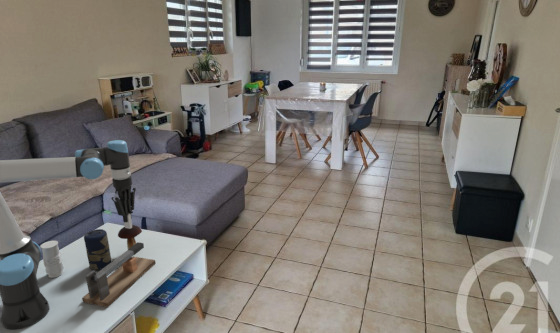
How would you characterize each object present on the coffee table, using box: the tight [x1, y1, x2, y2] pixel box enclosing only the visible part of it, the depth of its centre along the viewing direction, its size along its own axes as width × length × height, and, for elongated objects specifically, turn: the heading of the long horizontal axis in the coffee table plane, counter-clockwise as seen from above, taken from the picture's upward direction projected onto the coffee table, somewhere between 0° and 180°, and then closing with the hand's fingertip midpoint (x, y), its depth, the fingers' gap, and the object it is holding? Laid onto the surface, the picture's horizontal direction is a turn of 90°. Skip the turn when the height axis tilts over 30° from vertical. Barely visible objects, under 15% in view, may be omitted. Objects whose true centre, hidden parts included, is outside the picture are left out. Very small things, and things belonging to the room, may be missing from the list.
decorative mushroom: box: [117, 224, 143, 250], centre depth 181 cm, size 11×11×15 cm
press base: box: [81, 256, 156, 308], centre depth 158 cm, size 12×32×12 cm, turn 164°
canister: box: [83, 228, 112, 271], centre depth 169 cm, size 10×10×18 cm
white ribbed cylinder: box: [39, 240, 64, 279], centre depth 164 cm, size 7×7×15 cm
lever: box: [91, 241, 145, 281], centre depth 158 cm, size 4×29×2 cm, turn 164°
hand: (128, 227), depth 162 cm, fingers closed
